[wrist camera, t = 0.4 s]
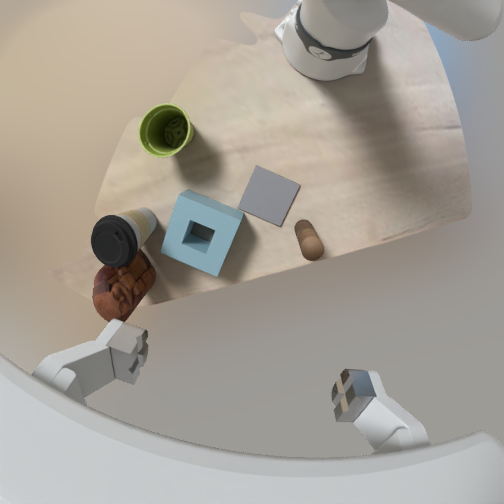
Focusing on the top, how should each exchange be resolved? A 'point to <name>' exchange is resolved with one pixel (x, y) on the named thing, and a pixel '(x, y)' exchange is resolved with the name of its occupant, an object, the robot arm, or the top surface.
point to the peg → (308, 240)
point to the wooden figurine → (122, 288)
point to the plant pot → (165, 130)
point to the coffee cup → (122, 236)
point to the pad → (268, 195)
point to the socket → (195, 248)
